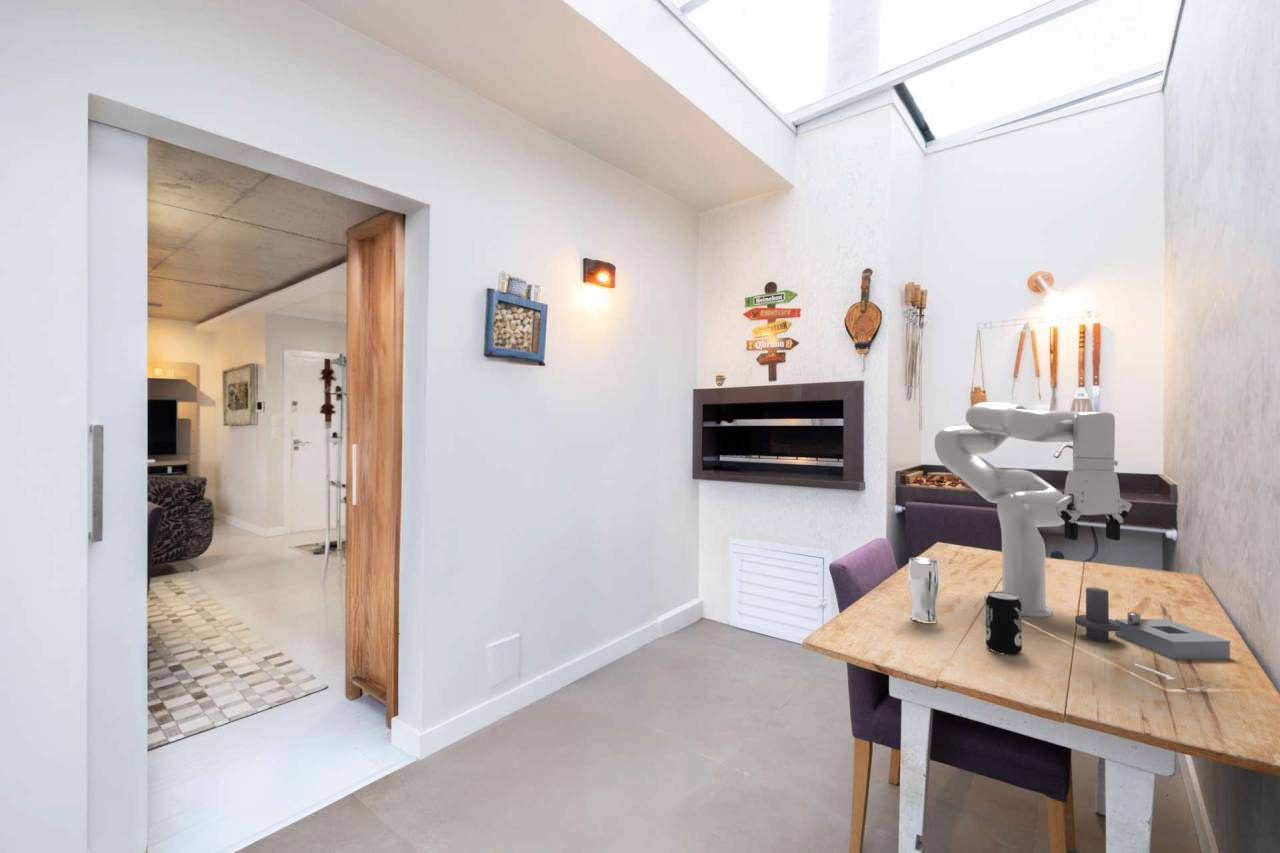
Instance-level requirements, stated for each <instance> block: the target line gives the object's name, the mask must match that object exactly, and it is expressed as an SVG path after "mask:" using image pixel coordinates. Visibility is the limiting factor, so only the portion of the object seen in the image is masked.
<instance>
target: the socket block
mask: <svg viewBox="0 0 1280 853" xmlns="http://www.w3.org/2000/svg"><path fill="white" fill-rule="evenodd" d="M1114 621H1117V622H1118V623H1120V630H1119V631H1114V633H1115V636H1117V637H1120V638H1121V639H1124V640H1126V641H1129V642H1131V643H1134V644H1136V645H1138V646H1141V647H1143V648H1146V649H1148V650H1149V651H1152V652H1156V653H1158V654H1160V655H1162V656H1165V657H1167V658H1170V659H1173V660H1200V659H1201V660H1202V659H1203V660H1206V659H1207V660H1209V659H1210V660H1212V659H1213V660H1214V659H1215V660H1218V659H1221V660H1222V659H1225V660H1227V659H1230V658H1231V650H1230V649H1231V648H1230V647H1231V641H1230V640H1228V639H1224V638H1221V637H1218V636H1217V635H1213V634H1210V633H1207V632H1204V631H1201V630H1199V629H1196V628H1193V627H1190V626H1188V625H1184V624H1182V623H1179V622H1175V621H1173V620H1169V619H1166V618H1142V619H1141V618H1140V625H1132V624H1129V623H1128V618H1126V619H1125V618H1123V619H1118V618H1117V619H1114Z"/></svg>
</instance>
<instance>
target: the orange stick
mask: <svg viewBox="0 0 1280 853" xmlns="http://www.w3.org/2000/svg"><path fill="white" fill-rule="evenodd" d="M1151 604H1152V598H1151V597H1148V596H1145V597H1143V599H1142V600H1141V601H1140V602H1139V603H1138V604H1137V605H1136V606H1135V608H1133V609H1132V610H1131V612H1126V613H1127V614H1126V615H1127V618H1126V619H1128V623H1129V624H1132V625H1140V619H1141V616H1142V615H1143V614H1144V612H1146V611H1147V609H1148V607H1149V606H1151Z"/></svg>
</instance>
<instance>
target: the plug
mask: <svg viewBox="0 0 1280 853" xmlns="http://www.w3.org/2000/svg"><path fill="white" fill-rule="evenodd" d="M1109 608H1110V607H1109V590H1107V589H1104V588H1099V587H1086V588H1085V614H1079V615H1075V616H1074V622H1075V624H1076V625H1079V626H1080V627H1083V628H1085V630H1086V631H1085V637H1086V638H1087V639H1089V640H1091V641H1094V642H1095V641H1096V642H1101V643H1103V642H1104V643H1106V642H1109V640H1110V638H1109V637H1110V636H1109V634H1110V632H1115V631H1119V630H1120V623H1118V622H1117V621H1115V619H1114V620H1113V619H1111V618H1110V617H1109V611H1110V610H1109Z"/></svg>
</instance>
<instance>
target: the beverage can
mask: <svg viewBox="0 0 1280 853" xmlns="http://www.w3.org/2000/svg"><path fill="white" fill-rule="evenodd" d="M1000 591H1001V590H998V591H997V590H994V591H993V590H992V591H989V592H987V595H988V597H987V598H986V602H985V645H986V646H987V648H988V649H989V648H990V649H992V650H994V651H996V652H995V653H997V652H999V653H998V654H1000V653H1004V654H1003V655H1005V654H1012V655H1011V656H1014V655H1015V654H1016V655H1019V653H1020V652H1022V650H1023V649H1022V648H1023V646H1022V643H1023V642H1022V638H1023V634H1022V632H1023V628H1022V626H1023V625H1022V622H1023V621H1022V619H1023V618H1022V604H1021V602H1020V601H1019V596H1017V595H1015V594H1012V593H1008V592H1000ZM990 649H989V650H990ZM992 650H991V651H992ZM994 651H993V652H994ZM1016 655H1015V656H1016Z"/></svg>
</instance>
